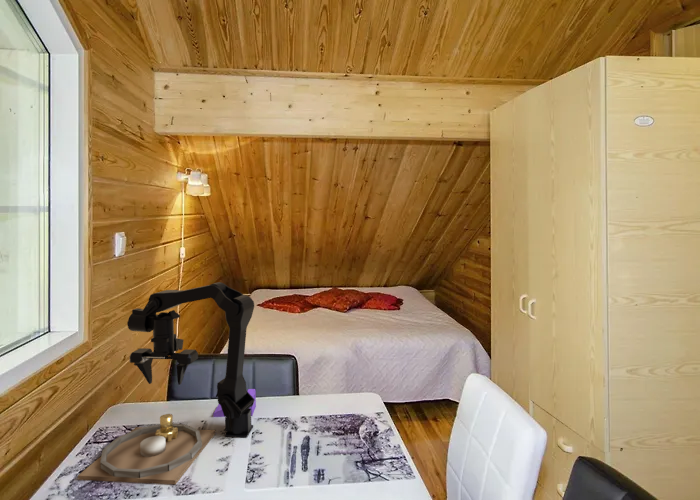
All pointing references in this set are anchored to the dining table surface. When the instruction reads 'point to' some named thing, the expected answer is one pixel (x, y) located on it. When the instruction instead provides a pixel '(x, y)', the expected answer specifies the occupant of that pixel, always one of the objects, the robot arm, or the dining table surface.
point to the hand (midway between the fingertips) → (165, 383)
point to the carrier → (148, 456)
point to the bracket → (252, 392)
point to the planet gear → (167, 428)
